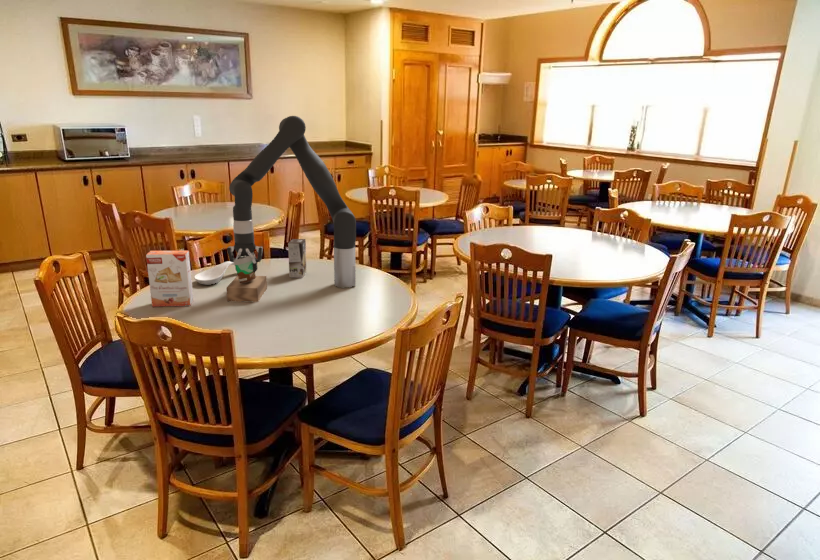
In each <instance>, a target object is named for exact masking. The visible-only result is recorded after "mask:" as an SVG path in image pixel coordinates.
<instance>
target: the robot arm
mask: <svg viewBox="0 0 820 560" xmlns="http://www.w3.org/2000/svg"><path fill="white" fill-rule="evenodd" d="M306 127H307V126H306V122H305V121H304V119H302V118H301V117H300V116H298V115H289V116H287V117H285V118H283V119H282V120H280V122H279V125H278V132H277V134H276V135H275V136H274V138H272V140H270V142H269V143H268V144H267V145H266V146H265V147H264V148H263V149H262V150H261V151H260V152H259V153H258V154H257V155H256V156H255V157H254V158H253V159H252V160H251V162H249V164H248V165H247V167H246V168H245V169H243V170H242V171H241V172H240V173H239V174H238V175H237V176H235V177H234V178H233V179H232V181H231V182H230V184H229V187H228V188H229V192H230V194H231V195H232V196H234V205H233V207H232V219H233V229H232V230H233V237H234V245H233V246H231V245H230V246H228V247H227V248H226V250H227V251H226V252H227V255H228V258H229V261H230V262H234V260H237V259H239V258H240V257H241V256H250V257H251V258H252V259H253V260H252V261H253V272H255V273H256V272H257V271H258V263H260V262H261V261H262V258H263V250H264V246H262V245H260V246H258V245H256V244H255V231H254V223H253V214H252V213H253V211H252V206H253V188H252V187H253V185H254V184H255V183H257V182H260V181H262V180H263V178H264V177H265V176H266V174H268V172H269V171H270V170H271V168H272V167H273V166H274V165H275V164H276V162H277V161H278V160H279V159H280V157H282V155H283V154H284V153H285V152H286V151H287V150H288V149H290V150H291V151H292V152H293V155H294V156H295V158H296V160H297V162H298V163H299V166H300V168H301V169H302V171H303V173H304V175H305V177H306V179H307V180H308V182H309V184H310V185H311V187H312V188H313V190H314V192H315V193H316V195H317V196H318V197H319V198H320V199H321V200H322V202H323V203H324V205H325V206H326V208H327V210H328V212H329V214H330V217H331V220H332V223H333V270H334V271H333V275H334V276H333V278H334V280H333V281H334V286H335V287H336V286H337V287H336V288H340V287H349V288H353V287H352V286H355V287H356V286H357V285H356V284H357V283H356V279H357V277H356V276H357V274H356V271H357V269H356V268H357V265H356V242H357V241H356V240H357V220H356V216H355V215H354V213H353V211H352V210H351V209H350V208H349V207H348V205H347V204H346V202H345V201H344V199H343V198H342V197H341V194H340V192H339V189H338V187H337V185H336V181H335V180H334V178H333V175H331V173H330V171H329V169H328V166H327V165H326V164H325V162H324V161H323V160H322V158H321V157H320V156H319V154H317V153H316V151H314V149H313V148H312V147H311V146H310V144H309V142H308V140H307V138H306V136H305V133H306V129H307V128H306ZM234 250H235V252H236V253H237V255H236V257H234V256H235V255H234V253H233V252H234ZM255 250H256V252H257V257H256V255H255V253H254V251H255ZM234 267H235V266H234ZM235 270H236V267H235Z"/></svg>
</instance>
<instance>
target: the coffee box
mask: <svg viewBox="0 0 820 560" xmlns="http://www.w3.org/2000/svg"><path fill="white" fill-rule="evenodd" d="M287 245H288V246H287V247H288V248H287V249H288V250H287V251H288V272H289V275H288V276H289V278H298V279H299V278H301V279H303V278H304V276H305V275H306V274H307V272H308V270H307V250H306V249H307V248H306V247H307V246H306V238H292V239H291V240H289V242H288V243H287ZM305 273H306V274H305ZM302 277H303V278H302Z"/></svg>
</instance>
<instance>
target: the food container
mask: <svg viewBox="0 0 820 560" xmlns="http://www.w3.org/2000/svg"><path fill="white" fill-rule="evenodd" d="M252 260H253V259H252V258H251V257H250V256H241V257H240V258H239V259H237V260H234V267H236V269H235V271H236V274H237V275H236V276H238V278H239V282H240V283H244V282H248V281H251V280H253V279H255V278H256V276H257V275H256V272H253V261H252Z"/></svg>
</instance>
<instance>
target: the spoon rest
mask: <svg viewBox="0 0 820 560" xmlns="http://www.w3.org/2000/svg"><path fill="white" fill-rule="evenodd" d="M233 265H234V262H230V260H229V261H228V260H227V261H224V262H222V263H220V264H217V265H216V266H213V267H211V268H208V269H206V270H204V271H201V272H198V273H196V274H195V275H194V277H193V278H194V280H195V282H197V283H199V284H201V285H204V286H210V285H211V284H213V285H216V284H218V283H219V282H220V281H221V280H222V278H223V276H224V275H225V273H226V271H227V269H228V268H229V267H230V266H233ZM234 266H235V265H234ZM215 283H216V284H215ZM211 286H212V285H211Z"/></svg>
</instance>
